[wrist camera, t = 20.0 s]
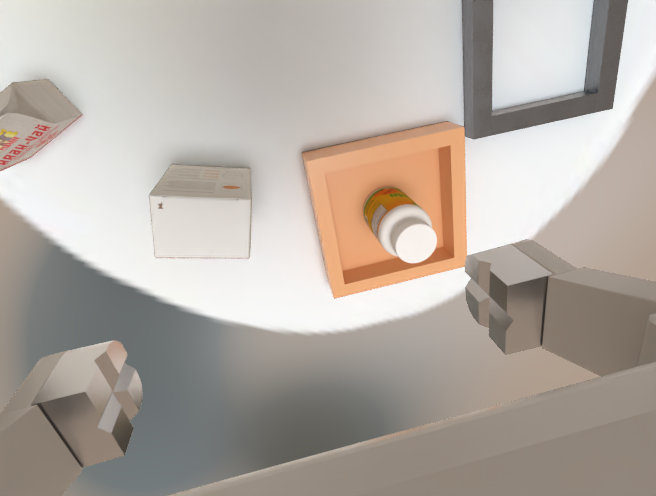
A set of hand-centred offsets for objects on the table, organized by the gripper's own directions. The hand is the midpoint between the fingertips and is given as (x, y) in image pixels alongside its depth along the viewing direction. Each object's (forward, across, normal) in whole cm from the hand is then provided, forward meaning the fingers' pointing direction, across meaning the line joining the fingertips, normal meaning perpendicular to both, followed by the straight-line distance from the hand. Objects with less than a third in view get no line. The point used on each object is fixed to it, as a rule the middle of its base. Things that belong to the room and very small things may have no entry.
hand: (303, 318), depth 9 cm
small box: (+34, +7, +6) cm, 36 cm away
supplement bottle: (+33, -11, +12) cm, 37 cm away
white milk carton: (+34, +20, -4) cm, 40 cm away
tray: (+34, -11, +12) cm, 38 cm away
